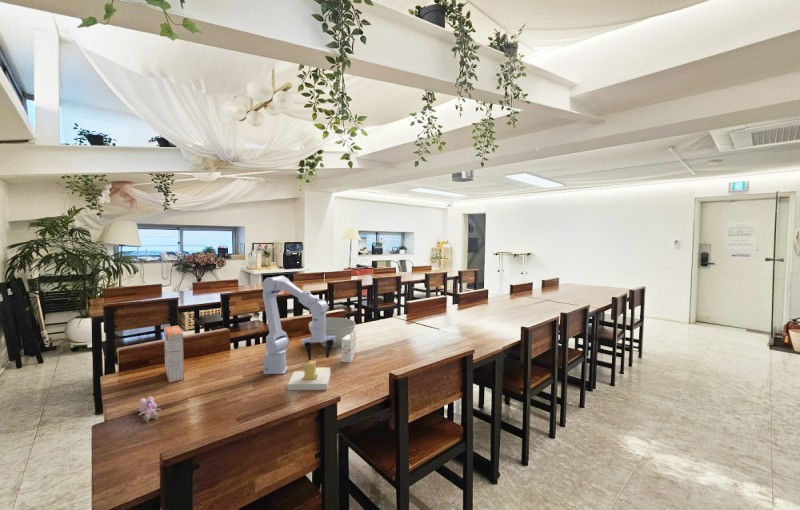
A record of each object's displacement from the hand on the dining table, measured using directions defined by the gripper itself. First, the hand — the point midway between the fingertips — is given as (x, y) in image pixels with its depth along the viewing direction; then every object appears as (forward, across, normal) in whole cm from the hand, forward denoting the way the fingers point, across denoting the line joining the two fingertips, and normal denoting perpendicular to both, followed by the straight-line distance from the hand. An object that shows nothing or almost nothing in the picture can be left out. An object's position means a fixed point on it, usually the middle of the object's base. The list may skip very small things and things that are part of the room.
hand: (318, 358), depth 152 cm
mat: (+10, +3, +8) cm, 13 cm away
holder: (+10, -4, -2) cm, 11 cm away
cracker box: (+10, -58, +26) cm, 64 cm away
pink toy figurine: (+10, -60, -6) cm, 62 cm away
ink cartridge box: (+10, +19, +18) cm, 28 cm away
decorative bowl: (+10, +17, +46) cm, 50 cm away
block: (+10, -4, -2) cm, 11 cm away
